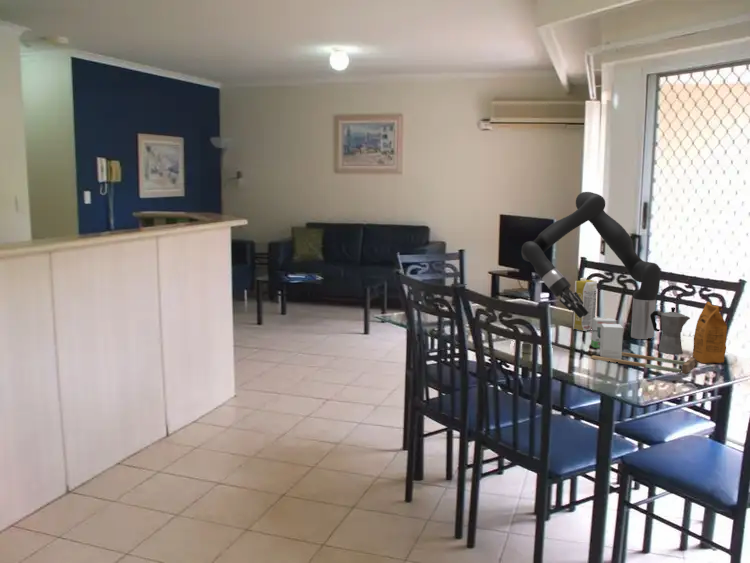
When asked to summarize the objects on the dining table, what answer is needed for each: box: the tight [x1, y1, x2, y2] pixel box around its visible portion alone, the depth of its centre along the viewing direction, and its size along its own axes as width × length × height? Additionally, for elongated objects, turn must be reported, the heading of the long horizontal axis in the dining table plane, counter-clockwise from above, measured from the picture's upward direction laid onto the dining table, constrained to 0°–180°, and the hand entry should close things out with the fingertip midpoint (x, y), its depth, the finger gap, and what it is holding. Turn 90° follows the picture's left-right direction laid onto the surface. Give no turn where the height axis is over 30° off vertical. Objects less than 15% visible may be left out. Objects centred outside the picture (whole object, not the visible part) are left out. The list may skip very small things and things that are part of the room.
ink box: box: [590, 316, 617, 349], centre depth 278 cm, size 9×5×12 cm, turn 85°
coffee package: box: [692, 301, 728, 364], centre depth 257 cm, size 10×12×22 cm
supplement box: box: [599, 323, 624, 360], centre depth 262 cm, size 7×7×13 cm
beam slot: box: [590, 351, 696, 375], centre depth 255 cm, size 14×34×3 cm, turn 53°
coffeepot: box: [650, 306, 691, 355], centre depth 271 cm, size 15×9×18 cm, turn 45°
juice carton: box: [572, 277, 598, 332], centre depth 309 cm, size 9×8×24 cm
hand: (584, 315), depth 267 cm, fingers open, 4 cm apart
